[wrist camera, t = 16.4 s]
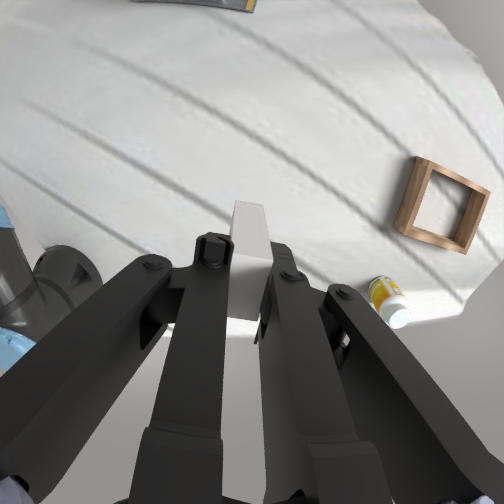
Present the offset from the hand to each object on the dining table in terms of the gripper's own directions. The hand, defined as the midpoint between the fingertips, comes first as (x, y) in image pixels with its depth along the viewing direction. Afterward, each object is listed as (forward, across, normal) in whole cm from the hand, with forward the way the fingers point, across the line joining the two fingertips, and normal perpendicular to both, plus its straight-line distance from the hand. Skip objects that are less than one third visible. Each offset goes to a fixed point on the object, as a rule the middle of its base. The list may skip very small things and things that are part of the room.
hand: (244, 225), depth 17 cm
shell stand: (+29, +34, 0) cm, 45 cm away
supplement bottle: (+29, +29, -17) cm, 44 cm away
